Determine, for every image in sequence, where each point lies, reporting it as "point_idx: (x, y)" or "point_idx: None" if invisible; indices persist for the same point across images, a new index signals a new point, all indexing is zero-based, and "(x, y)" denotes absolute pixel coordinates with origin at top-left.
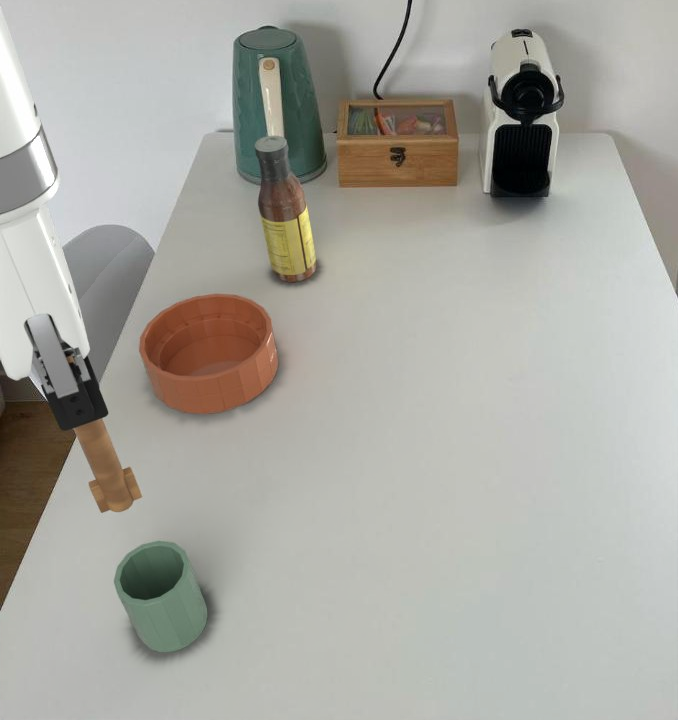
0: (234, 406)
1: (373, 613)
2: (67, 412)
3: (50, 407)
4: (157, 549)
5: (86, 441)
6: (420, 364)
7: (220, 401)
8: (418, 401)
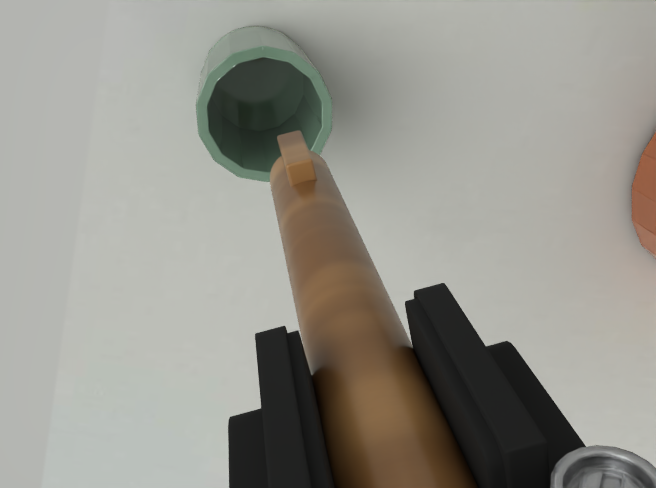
0: (632, 202)
1: (204, 345)
2: (232, 463)
3: (264, 419)
4: (319, 121)
5: (298, 298)
6: (584, 444)
7: (647, 191)
8: None
